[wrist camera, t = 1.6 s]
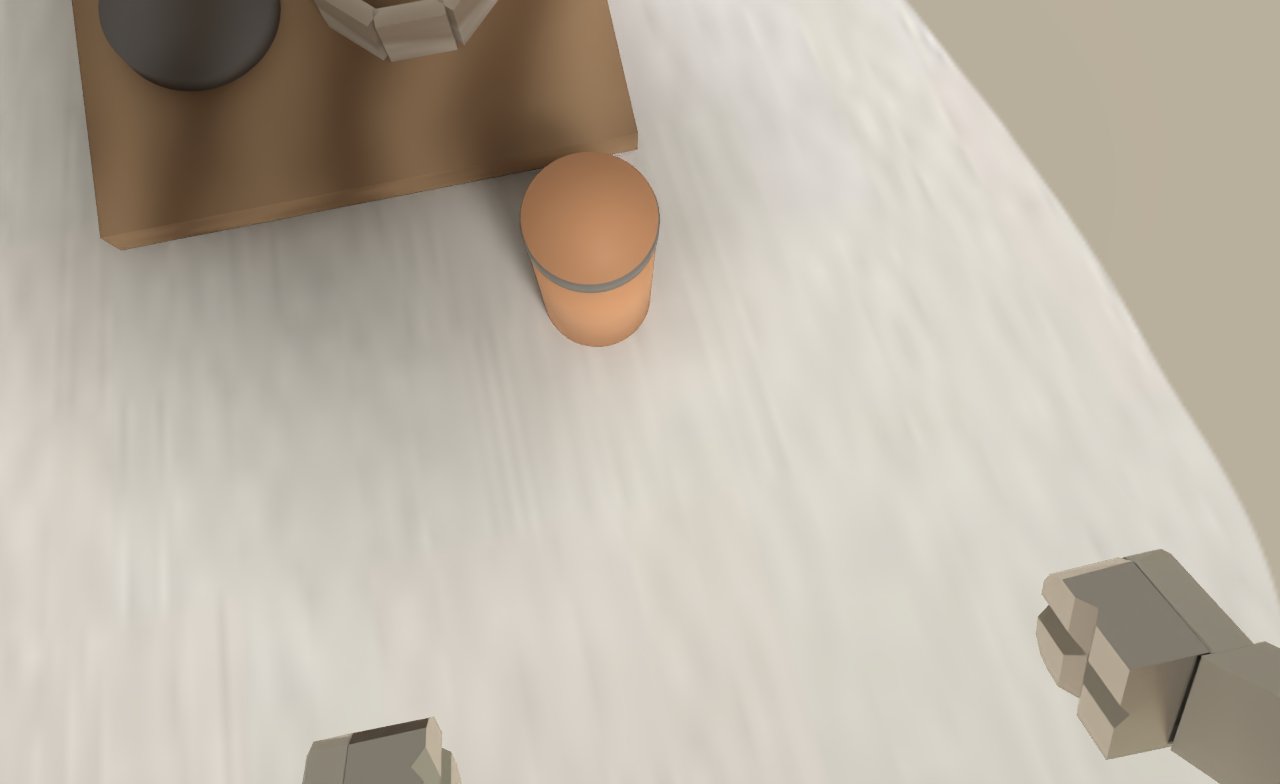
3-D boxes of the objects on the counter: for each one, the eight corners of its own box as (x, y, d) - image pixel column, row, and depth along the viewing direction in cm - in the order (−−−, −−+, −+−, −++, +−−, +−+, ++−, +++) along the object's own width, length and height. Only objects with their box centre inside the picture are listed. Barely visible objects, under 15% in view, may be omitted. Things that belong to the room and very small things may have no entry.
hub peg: (555, 357, 37) (533, 297, 28) (534, 255, 38) (506, 165, 29) (661, 335, 38) (673, 268, 29) (638, 234, 38) (643, 138, 29)
